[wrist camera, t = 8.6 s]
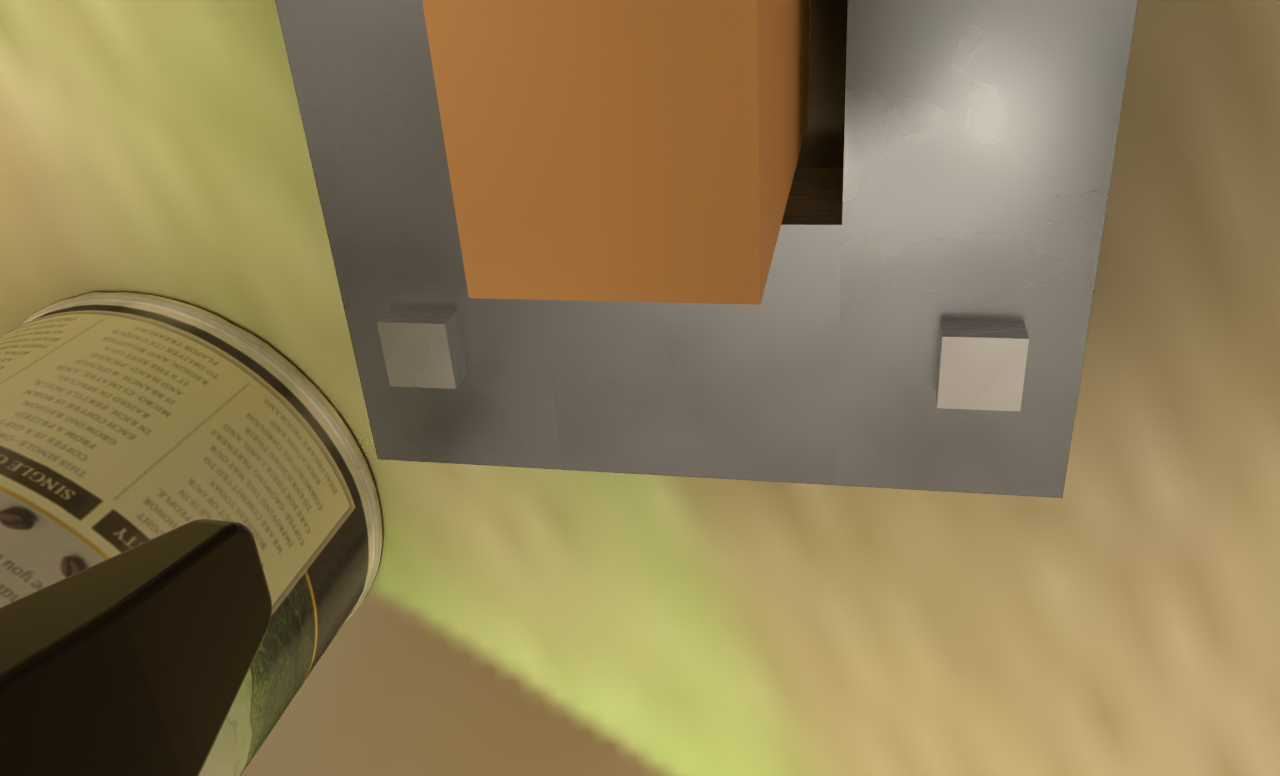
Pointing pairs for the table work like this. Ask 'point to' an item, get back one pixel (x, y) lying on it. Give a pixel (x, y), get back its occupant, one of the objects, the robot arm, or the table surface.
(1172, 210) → the table surface
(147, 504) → the coffee can
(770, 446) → the rosette plate
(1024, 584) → the table surface
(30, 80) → the table surface
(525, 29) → the tall orange box
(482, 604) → the table surface
